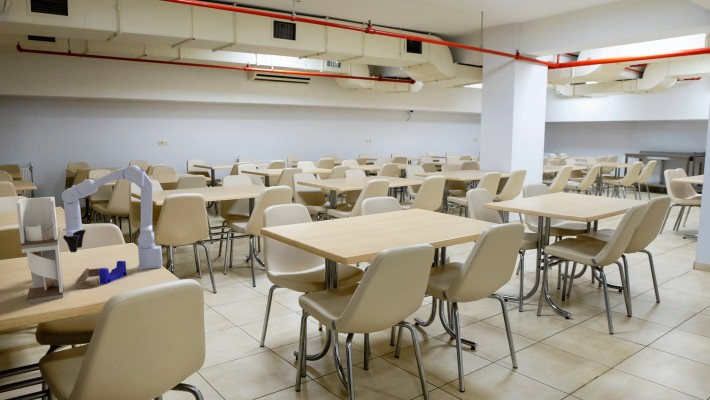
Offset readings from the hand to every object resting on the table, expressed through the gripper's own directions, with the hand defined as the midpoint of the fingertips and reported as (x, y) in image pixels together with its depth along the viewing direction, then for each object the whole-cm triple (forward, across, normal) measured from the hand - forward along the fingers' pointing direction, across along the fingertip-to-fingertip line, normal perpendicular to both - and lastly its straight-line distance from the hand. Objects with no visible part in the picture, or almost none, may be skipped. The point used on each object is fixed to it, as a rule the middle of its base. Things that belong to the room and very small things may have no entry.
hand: (76, 249), depth 206 cm
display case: (+10, +28, -4) cm, 30 cm away
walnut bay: (+10, +13, +9) cm, 19 cm away
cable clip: (+10, +13, +15) cm, 22 cm away
